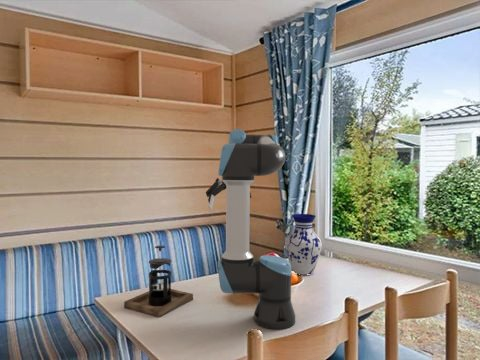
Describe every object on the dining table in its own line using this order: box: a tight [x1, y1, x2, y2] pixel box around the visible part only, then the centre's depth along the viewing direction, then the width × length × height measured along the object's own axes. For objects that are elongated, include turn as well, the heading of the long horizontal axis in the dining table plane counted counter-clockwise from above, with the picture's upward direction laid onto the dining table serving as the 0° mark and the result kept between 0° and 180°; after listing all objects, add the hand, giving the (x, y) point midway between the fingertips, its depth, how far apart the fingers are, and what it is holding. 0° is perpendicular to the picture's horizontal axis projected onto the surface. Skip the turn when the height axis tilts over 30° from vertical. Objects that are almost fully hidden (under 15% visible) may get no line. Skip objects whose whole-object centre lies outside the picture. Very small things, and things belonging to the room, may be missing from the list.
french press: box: [148, 244, 172, 306], centre depth 157 cm, size 12×9×23 cm
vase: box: [284, 213, 323, 276], centre depth 201 cm, size 19×19×30 cm
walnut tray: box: [123, 288, 194, 318], centre depth 158 cm, size 18×21×2 cm
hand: (225, 208), depth 166 cm, fingers open, 13 cm apart
